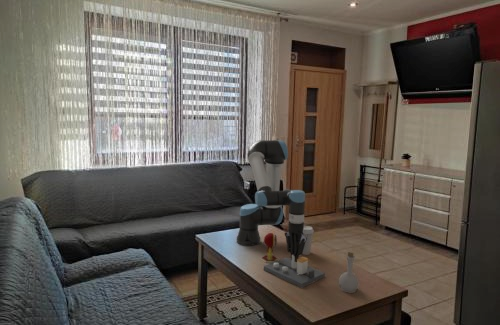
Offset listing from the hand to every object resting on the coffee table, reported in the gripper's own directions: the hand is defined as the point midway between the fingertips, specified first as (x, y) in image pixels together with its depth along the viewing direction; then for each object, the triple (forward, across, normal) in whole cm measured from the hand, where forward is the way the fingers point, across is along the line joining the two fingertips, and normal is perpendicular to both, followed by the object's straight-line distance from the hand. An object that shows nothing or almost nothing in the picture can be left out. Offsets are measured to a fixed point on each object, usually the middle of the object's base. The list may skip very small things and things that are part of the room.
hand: (294, 267), depth 175 cm
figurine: (+4, -20, +3) cm, 20 cm away
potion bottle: (+4, +27, +6) cm, 28 cm away
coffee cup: (+4, -14, +26) cm, 30 cm away
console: (+3, 0, 0) cm, 3 cm away
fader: (+1, +5, 0) cm, 5 cm away
